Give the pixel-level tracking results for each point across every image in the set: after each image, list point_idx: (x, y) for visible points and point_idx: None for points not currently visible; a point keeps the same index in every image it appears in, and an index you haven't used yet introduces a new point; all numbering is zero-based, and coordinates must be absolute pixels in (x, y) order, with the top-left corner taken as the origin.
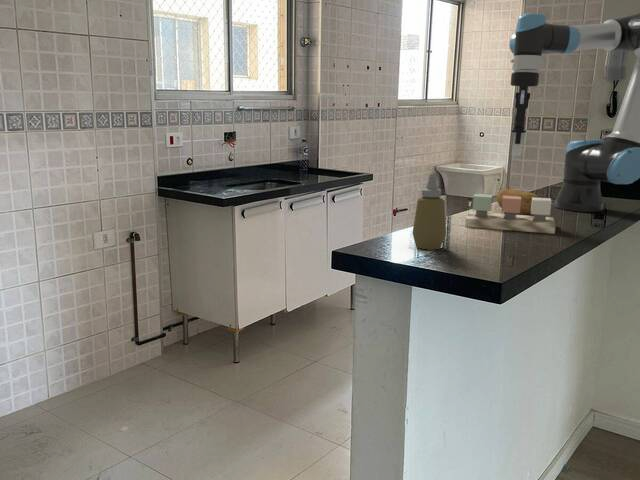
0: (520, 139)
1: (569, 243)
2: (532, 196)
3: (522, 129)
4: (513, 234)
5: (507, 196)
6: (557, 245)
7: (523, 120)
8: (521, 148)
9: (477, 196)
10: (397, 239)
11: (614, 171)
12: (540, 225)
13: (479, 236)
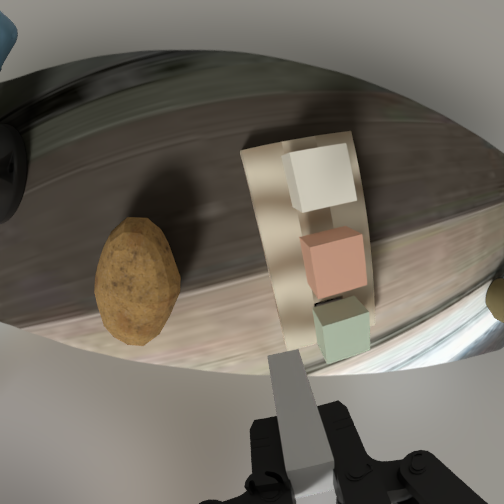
0: (352, 422)
1: (408, 104)
2: (149, 242)
3: (427, 457)
4: (394, 213)
5: (329, 283)
6: (432, 126)
7: (476, 498)
8: (306, 378)
9: (369, 342)
10: (467, 341)
11: (6, 37)
12: (357, 165)
13: (431, 264)
